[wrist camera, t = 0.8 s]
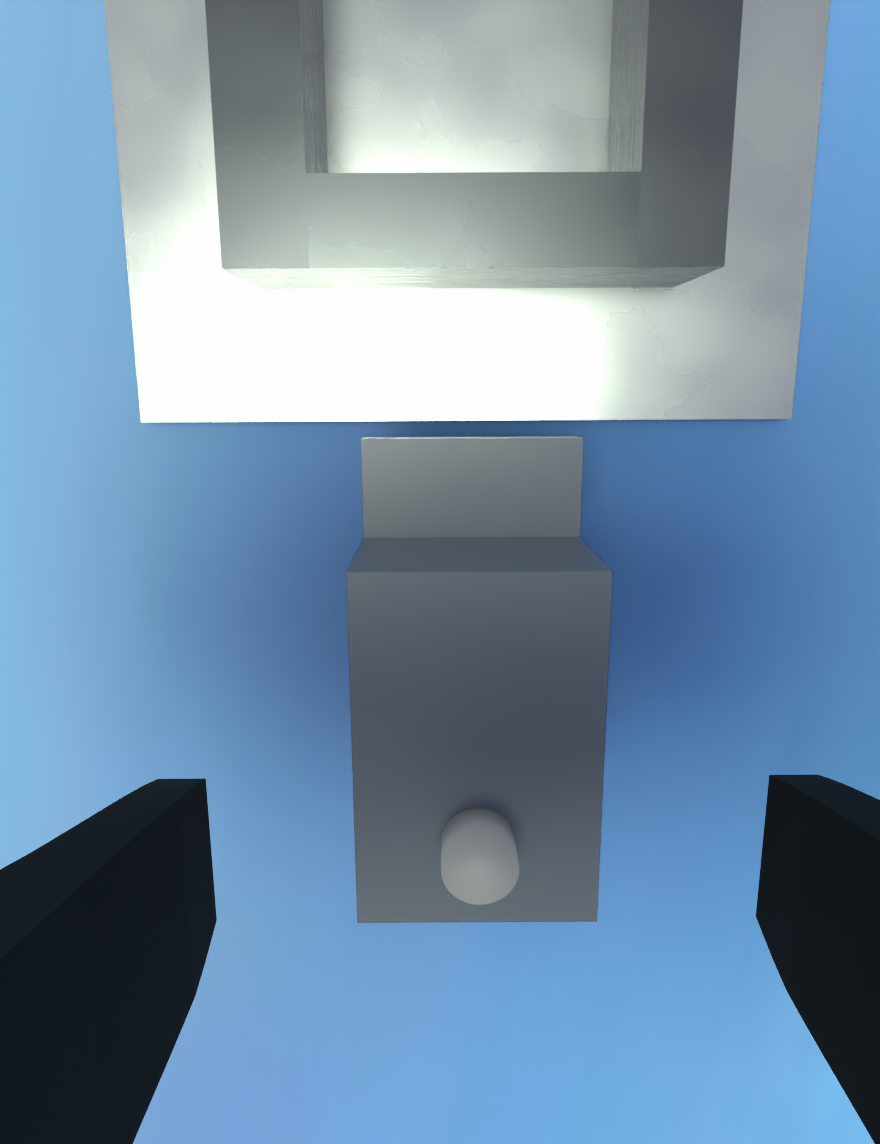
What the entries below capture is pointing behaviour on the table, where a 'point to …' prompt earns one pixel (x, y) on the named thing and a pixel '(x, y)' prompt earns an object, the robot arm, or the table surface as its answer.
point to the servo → (476, 683)
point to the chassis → (466, 206)
